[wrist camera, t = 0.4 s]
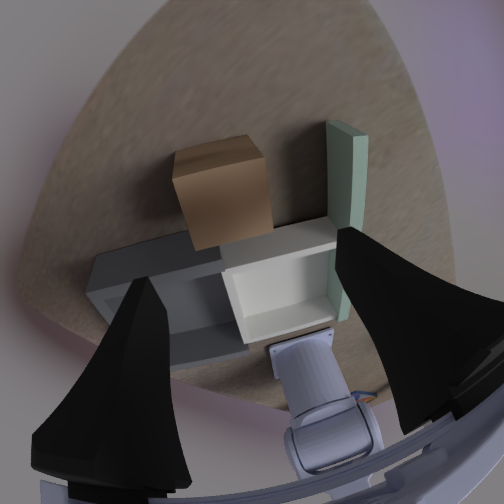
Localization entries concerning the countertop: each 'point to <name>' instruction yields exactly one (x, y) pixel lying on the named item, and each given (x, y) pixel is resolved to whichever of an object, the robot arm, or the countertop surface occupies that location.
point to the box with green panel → (300, 253)
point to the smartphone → (363, 396)
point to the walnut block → (223, 191)
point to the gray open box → (175, 296)
